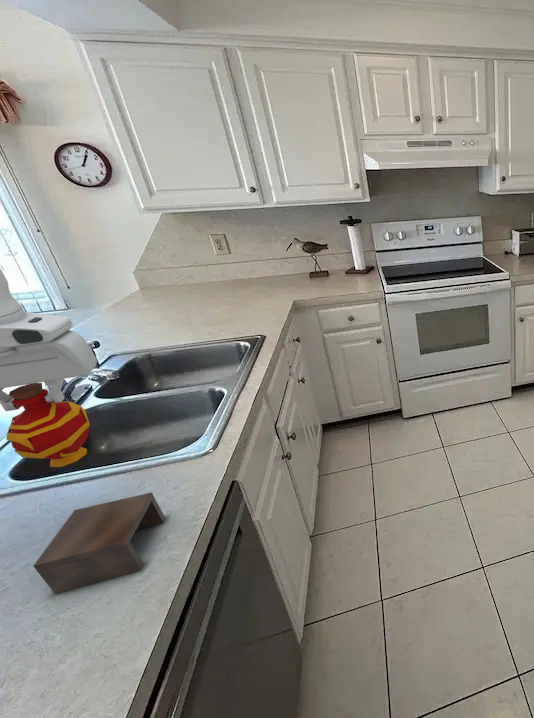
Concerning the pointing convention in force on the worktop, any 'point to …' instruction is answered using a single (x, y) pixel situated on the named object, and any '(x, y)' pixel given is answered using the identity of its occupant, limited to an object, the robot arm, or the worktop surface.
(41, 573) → the shelf
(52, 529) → the worktop surface
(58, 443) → the potion bottle
